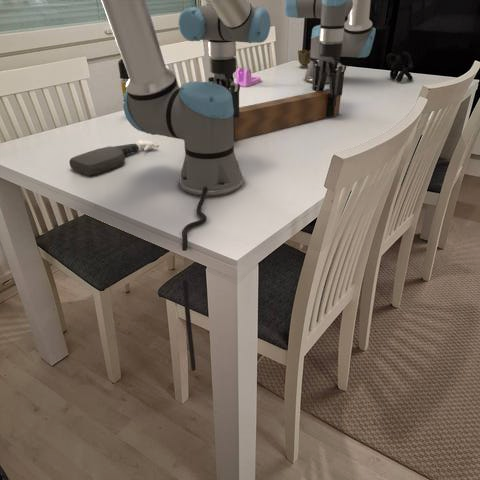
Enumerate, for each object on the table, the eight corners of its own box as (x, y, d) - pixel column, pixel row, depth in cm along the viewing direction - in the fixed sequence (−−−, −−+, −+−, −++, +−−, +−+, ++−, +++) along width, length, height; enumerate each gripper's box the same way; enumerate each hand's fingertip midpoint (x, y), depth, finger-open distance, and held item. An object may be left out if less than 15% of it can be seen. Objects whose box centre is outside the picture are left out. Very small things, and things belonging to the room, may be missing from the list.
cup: (294, 68, 226) (295, 51, 222) (300, 65, 232) (301, 48, 227) (308, 69, 223) (309, 52, 219) (313, 66, 229) (315, 49, 224)
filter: (143, 118, 157) (130, 24, 141) (127, 120, 156) (112, 25, 140) (140, 114, 162) (127, 22, 146) (124, 116, 160) (110, 23, 144)
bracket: (246, 86, 195) (246, 69, 191) (236, 85, 197) (235, 68, 194) (263, 80, 203) (263, 64, 200) (253, 79, 206) (253, 63, 202)
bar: (216, 145, 133) (215, 117, 129) (208, 140, 137) (207, 113, 132) (338, 114, 157) (341, 90, 153) (329, 111, 161) (331, 88, 156)
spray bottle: (67, 168, 120) (139, 144, 136) (91, 178, 114) (163, 151, 130) (65, 157, 118) (137, 134, 134) (89, 167, 112) (162, 142, 128)
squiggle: (400, 92, 202) (376, 71, 205) (417, 76, 202) (392, 56, 205) (405, 81, 191) (380, 59, 194) (423, 64, 191) (397, 42, 194)
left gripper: (252, 60, 120) (252, 143, 133) (217, 51, 133) (220, 128, 145) (228, 63, 117) (231, 148, 129) (195, 54, 129) (200, 133, 141)
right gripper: (359, 44, 140) (350, 118, 152) (320, 38, 152) (315, 106, 165) (342, 46, 136) (335, 122, 149) (304, 40, 149) (300, 110, 161)
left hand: (225, 137), depth 137 cm, fingers closed on bar, 5 cm apart
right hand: (324, 113), depth 157 cm, fingers closed on bar, 5 cm apart
